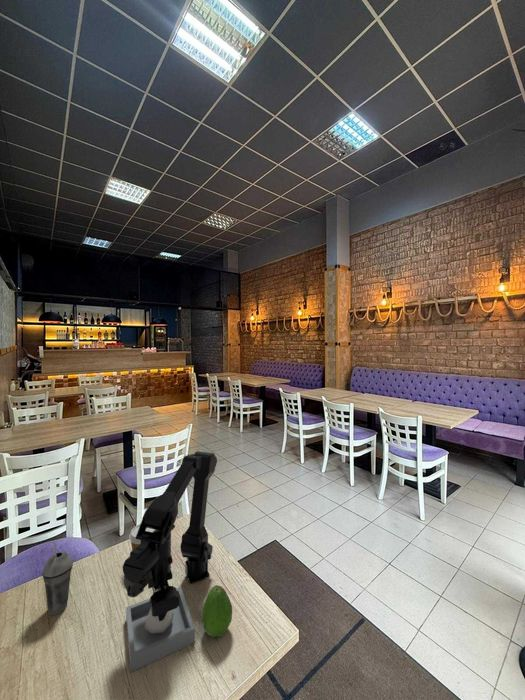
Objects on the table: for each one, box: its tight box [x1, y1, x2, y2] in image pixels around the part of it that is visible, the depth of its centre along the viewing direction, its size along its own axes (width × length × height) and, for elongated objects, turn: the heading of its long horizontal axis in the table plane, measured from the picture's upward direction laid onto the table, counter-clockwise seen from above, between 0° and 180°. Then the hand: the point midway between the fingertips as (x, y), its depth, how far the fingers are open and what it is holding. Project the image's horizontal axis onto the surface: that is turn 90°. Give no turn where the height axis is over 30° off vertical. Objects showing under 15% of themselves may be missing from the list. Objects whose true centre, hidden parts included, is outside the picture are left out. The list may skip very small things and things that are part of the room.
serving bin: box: [125, 586, 196, 673], centre depth 79 cm, size 15×15×4 cm
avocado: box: [201, 585, 233, 638], centre depth 78 cm, size 8×8×12 cm
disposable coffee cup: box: [129, 523, 155, 551], centre depth 102 cm, size 10×10×12 cm
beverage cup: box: [41, 540, 74, 616], centre depth 85 cm, size 7×7×20 cm
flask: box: [144, 586, 174, 634], centre depth 79 cm, size 7×7×10 cm
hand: (159, 611), depth 79 cm, fingers closed on flask, 5 cm apart
